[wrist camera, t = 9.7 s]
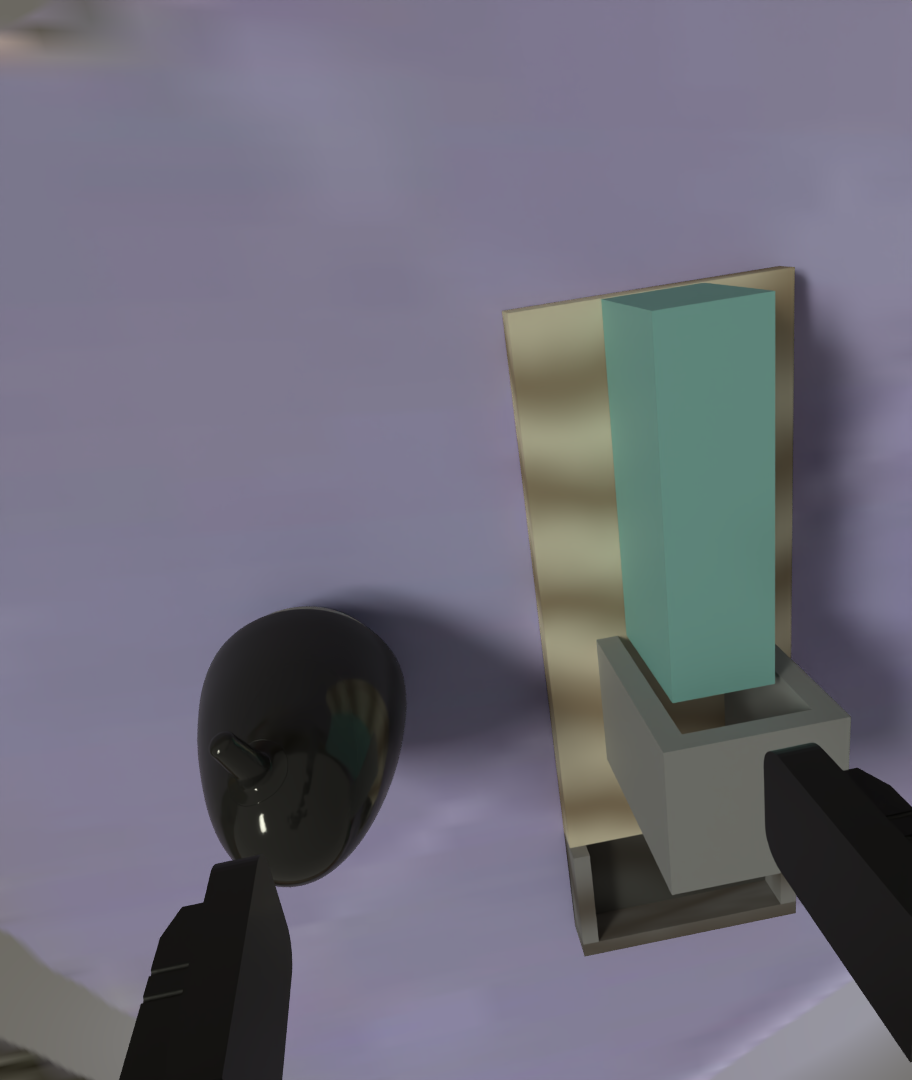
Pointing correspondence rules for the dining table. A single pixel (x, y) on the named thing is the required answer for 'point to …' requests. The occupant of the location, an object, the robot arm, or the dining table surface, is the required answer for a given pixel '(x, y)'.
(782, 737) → the tunnel
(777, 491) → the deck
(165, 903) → the dining table surface
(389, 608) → the dining table surface
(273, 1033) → the robot arm
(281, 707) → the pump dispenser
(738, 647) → the teal pillar
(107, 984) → the dining table surface
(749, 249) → the dining table surface
